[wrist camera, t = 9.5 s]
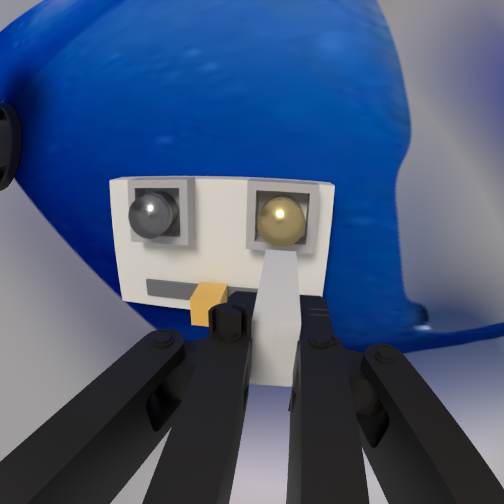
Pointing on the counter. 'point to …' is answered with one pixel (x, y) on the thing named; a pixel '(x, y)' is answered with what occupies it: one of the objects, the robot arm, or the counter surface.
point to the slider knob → (206, 301)
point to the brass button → (281, 221)
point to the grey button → (153, 214)
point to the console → (214, 236)
